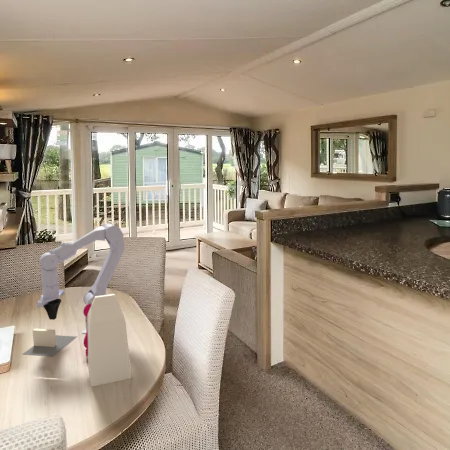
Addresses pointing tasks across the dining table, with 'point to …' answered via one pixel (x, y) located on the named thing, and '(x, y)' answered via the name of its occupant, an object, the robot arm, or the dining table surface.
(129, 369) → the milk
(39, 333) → the block
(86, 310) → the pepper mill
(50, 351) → the mat
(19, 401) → the dining table surface
